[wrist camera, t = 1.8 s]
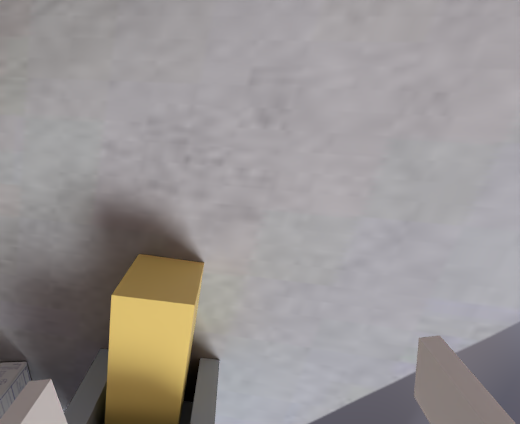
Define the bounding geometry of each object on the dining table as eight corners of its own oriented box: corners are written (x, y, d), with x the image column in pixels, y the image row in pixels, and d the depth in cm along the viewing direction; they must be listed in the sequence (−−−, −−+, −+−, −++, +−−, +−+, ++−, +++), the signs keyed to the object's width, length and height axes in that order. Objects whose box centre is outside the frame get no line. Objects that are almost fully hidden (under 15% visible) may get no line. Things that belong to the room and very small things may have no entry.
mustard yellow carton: (128, 387, 35) (103, 453, 28) (139, 253, 30) (111, 294, 24) (185, 392, 36) (172, 458, 29) (204, 261, 31) (194, 305, 24)
